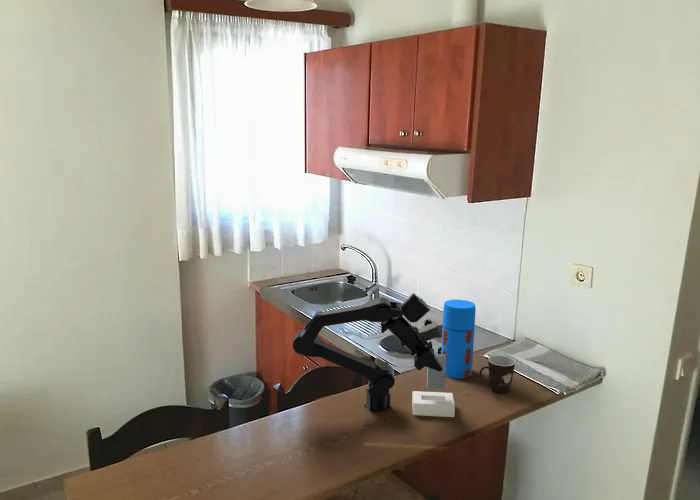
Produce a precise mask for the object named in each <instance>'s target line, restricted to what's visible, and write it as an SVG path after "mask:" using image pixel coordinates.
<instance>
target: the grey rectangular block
mask: <svg viewBox="0 0 700 500" xmlns="http://www.w3.org/2000/svg"><path fill="white" fill-rule="evenodd" d="M434 355H435V359H436V360H437V361H438V363H439V364H440V366H441V367H442V369H443V370H442V371H441V372H440V371H437V370H434V369H431V368H428V367H426V369H427V370H426V388H427V389H440V390H442V389H445V385H446V384H445V383H446V382H445V381H446V376H445V364H446V356H445V354H441V353H440V354H439V353H434Z"/></svg>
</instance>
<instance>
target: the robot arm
mask: <svg viewBox="0 0 700 500" xmlns="http://www.w3.org/2000/svg"><path fill="white" fill-rule="evenodd" d="M429 311H431V308H430V306H429V305H428V304H427V302H426V301H424V299H423V298H421V297H419V295H416V294H415V292H414V293H412V294H410V296H409V297H408V298H407V299H406V300H405V301H404V302H403V303H402V302H396V301H390V300H389V299H387V298H386V297H382V296H381V297H377V298H374V299H372V300H368V301H367V302H365V303H362V304H360V305H354V306H347V307H343V308H342V307H341V308H335V309H330V310H323V311H322V310H319V311H316V312H314V314H313V316H312V318H311V319H310V320H309V322H308V323H307V324H306V325H305V327H304V328H303V329H300V330H299V331H297V332H296V334H295V336H294V339H293V342H292V348H293V351H294V352H295V353H296V354H298V355H300V356H303V357H308V358H321V359H322V360H325V361H327V362H330V363H332V364H334V365H337V366H339V367H341V368H344V369H347V371H350V372H353V373H355V374H358V375H360V376H362V377H364V379H366V380H367V382H368V383H367V385H368V387H367V389H366V390H365V392H366V393H365V394H366V395H365V401H366V402H365V404H363V407H364V408H365V409H367V410H368V411H369V412H379V413H380V412H384V411H386V410H387V409H389V408H391V396H392V395H391V394H390V389H392V388H393V387H394V386H395V383H396V382H395V381H396V380H395V370H394V367H392V365H390V364H389V361H385V360H382V359H381V358H379V357H375V361H369V360H366V359H364V358H361V357H359V356H357V355H354V354H352V353H350V352H349V351H348V352H347V351H345V350H343V349H341V348H338V347H336V346H333V345H332V344H329V343H327V342H325V341H324V340H323V338H321V337H320V336H319V333H320V332H321V331H322V329H323V328H324V327H329V326H335V325H342V324H348V323H349V324H350V323H355V322H360V321H361V322H364V321H365V322H369V323H371V322H372V323H380V330H381V331H380V332H381V334H385V333H386V331H389V332H390V333H391V334H392V335H393V336H394V337H395V338H396V340H398V341H399V342H400V345H401V346H402V347H405V348H406V349H407V350H408V351H409V354H410V355H411V357H413V359H412V360H413V366H414V367H415V369H416V370H418V371H421V370H422V369H423V368H427V367H428V368H431V369H434V370H437V371H440V372H441V371H442V370H443V369H442V367H441V366H440V364H439V363H438V361H437V360H436V359H435V355H434V354H435V349H434V348H433V342H432V340H433V339H436V338H440V337H442V333H441V330H440V328H439V325H438V322H436V321H435V320H433V321H432V320H431V319H430V318H427V319H425V320H424V322H423V323H424V324H423V325H421V327H420V328H419V327H417V326H415V325H412V324H411V323H413V324H414V323H417V322H419V321H420V320H422V318H424V316H425V315H426V314H427V313H428V312H429ZM428 341H429V342H428Z"/></svg>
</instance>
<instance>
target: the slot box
mask: <svg viewBox="0 0 700 500" xmlns="http://www.w3.org/2000/svg"><path fill="white" fill-rule="evenodd" d="M411 398H412V399H411V401H412V402H411V405H412V416H420V417H421V416H424V417H425V416H427V417H444V418H447V417H448V418H450V417H451V418H455V415H456V413H455V411H456V410H455V409H456V405H455V404H456V403H455V400H454V395H453V392H440V391H417V390H416V391H414V390H412V396H411Z"/></svg>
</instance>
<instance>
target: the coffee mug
mask: <svg viewBox="0 0 700 500" xmlns="http://www.w3.org/2000/svg"><path fill="white" fill-rule="evenodd" d="M487 363H488V366H487V365H485V366H483V367H482V368H480V370H479V376H480V377H481V378H482V379H483V380H484V381H486V382H488V384H489V388H490V389H491V392H492V393H495V394H500V395H503V394H504V395H505V394H509V393H510V392H511V387H512V381H513V377H514V372H515V367H516V360H515V359H514V358H512V357H509V356H505V355H491V356H489V357H488V358H487ZM485 369H488V379H489V380H488V379H487V378H485V377H484V376H483V374H482V372H483V371H484V370H485Z"/></svg>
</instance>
